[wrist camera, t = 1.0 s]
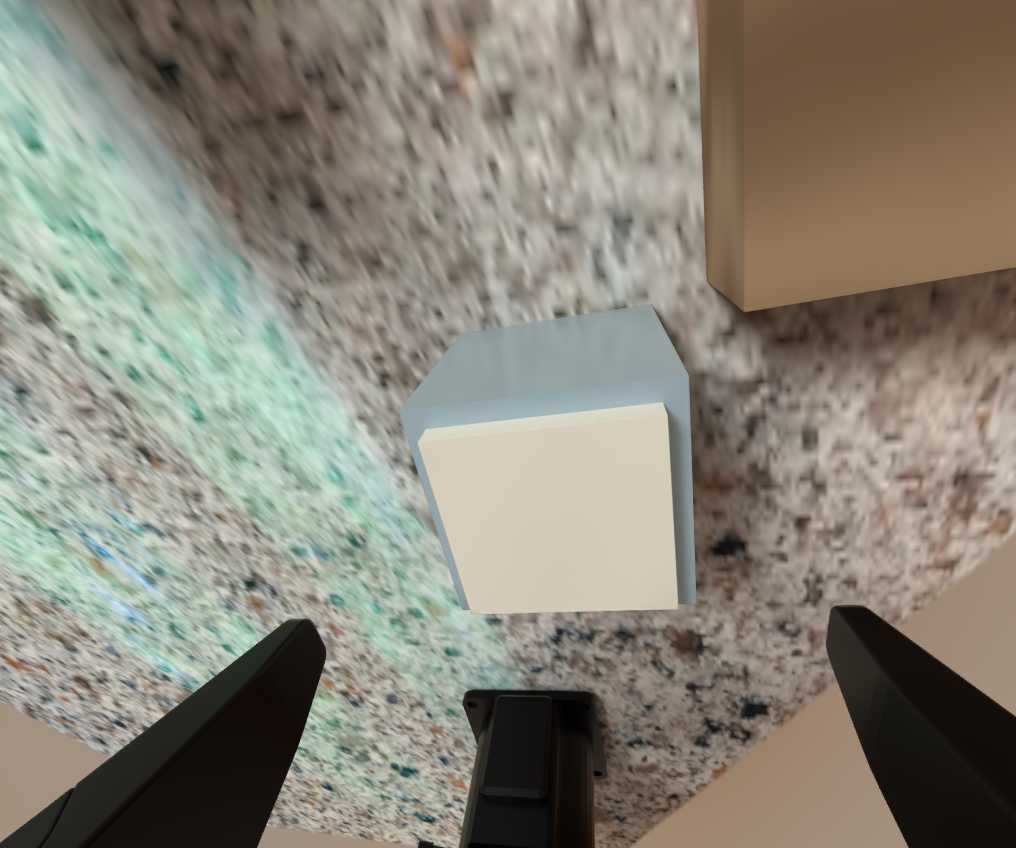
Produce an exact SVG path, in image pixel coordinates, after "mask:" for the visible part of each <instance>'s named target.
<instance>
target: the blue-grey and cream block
mask: <svg viewBox="0 0 1016 848" xmlns="http://www.w3.org/2000/svg"><path fill="white" fill-rule="evenodd" d="M398 412H399V415H400V418H401V421H402V424H403V427H404V430H405V433H406V436H407V440H408V443H409V446H410V449H411V452H412V455H413V458H414V461H415V464H416V467H417V470H418V474H419V477H420V480H421V483H422V486H423V489H424V492H425V495H426V498H427V501H428V504H429V508H430V511H431V514H432V517H433V520H434V523H435V526H436V529H437V532H438V535H439V538H440V542H441V545H442V548H443V551H444V554H445V557H446V560H447V563H448V566H449V569H450V572H451V576H452V579H453V582H454V585H455V588H456V591H457V594H458V597H459V600H460V603H461V607H462V610H470V611H471V614H500V613H541V612H582V611H623V610H664V609H678V604H696V576H695V546H694V516H693V486H692V455H691V425H690V395H689V375H688V373H687V371H686V369H685V367H684V365H683V364H682V362H681V360H680V358H679V356H678V354H677V352H676V350H675V348H674V347H673V345H672V343H671V341H670V339H669V337H668V335H667V333H666V332H665V330H664V328H663V326H662V324H661V322H660V320H659V318H658V317H657V315H656V313H655V311H654V309H653V307H652V305H651V304H647V305H641V306H635V307H628V308H622V309H615V310H609V311H603V312H596V313H590V314H584V315H577V316H571V317H564V318H558V319H552V320H545V321H539V322H533V323H526V324H520V325H513V326H507V327H501V328H494V329H488V330H482V331H475V332H469V333H463V334H460V336H459V337H458V338H457V339H456V341H455V342H454V343H453V344H452V346H451V347H450V348H449V349H448V351H447V352H446V353H445V354H444V356H443V357H442V358H441V359H440V361H439V362H438V363H437V364H436V365H435V367H434V368H433V369H432V370H431V372H430V373H429V374H428V375H427V377H426V378H425V379H424V380H423V382H422V383H421V384H420V385H419V387H418V388H417V389H416V390H415V392H414V393H413V394H412V395H411V397H410V398H409V399H408V400H407V401H406V403H405V404H404V405H403V406H402V408H401V409H400V410H399V411H398Z"/></svg>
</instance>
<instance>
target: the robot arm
mask: <svg viewBox="0 0 1016 848" xmlns="http://www.w3.org/2000/svg"><path fill="white" fill-rule="evenodd" d="M826 648H827V653H828V657H829V660H830V663H831V665H832V668H833V671H834V674H835V676H836V679H837V682H838V684H839V687H840V690H841V692H842V695H843V697H844V700H845V703H846V706H847V708H848V711H849V714H850V716H851V719H852V721H853V724H854V727H855V730H856V732H857V735H858V738H859V740H860V743H861V746H862V749H863V751H864V753H865V756H866V759H867V761H868V764H869V766H870V768H871V771H872V773H873V775H874V777H875V779H876V782H877V783H878V786H879V788H880V790H881V792H882V794H883V796H884V798H885V800H886V802H887V804H888V806H889V808H890V811H891V813H892V815H893V816H894V819H895V821H896V823H897V825H898V827H899V829H900V831H901V833H902V835H903V837H904V839H905V841H906V843H907V845H908V847H909V848H1016V716H1014V715H1013V714H1012V713H1010V712H1009V711H1007V710H1006V709H1005V708H1003V707H1002V706H1000V705H999V704H998V703H996V702H995V701H994V700H992V699H991V698H990V697H988V696H987V695H986V694H984V693H983V692H981V691H980V690H979V689H977V688H976V687H975V686H973V685H972V684H970V683H969V682H968V681H967V680H965V679H964V678H962V677H961V676H960V675H958V674H957V673H955V672H954V671H953V670H951V669H950V668H949V667H947V666H946V665H945V664H943V663H942V662H941V661H939V660H938V659H936V658H935V657H934V656H932V655H931V654H929V653H928V652H927V651H926V650H924V649H923V648H921V647H920V646H919V645H917V644H916V643H915V642H913V641H912V640H910V639H909V638H908V637H906V636H905V635H904V634H902V633H901V632H900V631H898V630H897V629H896V628H894V627H893V626H891V625H890V624H889V623H887V622H886V621H885V620H883V619H882V618H881V617H879V616H878V615H876V614H875V613H874V612H872V611H871V610H870V609H868V608H866V607H864V606H861V605H837V606H834V607H832V609H831V611H830V616H829V624H828V631H827V639H826ZM325 660H326V647H325V645H324V643H323V641H322V639H321V637H320V635H319V633H318V631H317V629H316V627H315V625H314V623H313V622H312V621H311V620H310V619H290V620H288V621H286V622H284V623H283V624H282V625H281V626H279V627H278V628H277V629H275V630H274V631H273V632H272V633H270V634H269V635H268V636H266V637H265V638H264V639H263V640H261V641H260V642H259V643H257V644H256V645H255V646H254V647H252V648H251V649H250V650H248V651H247V652H246V653H245V654H243V655H242V656H241V657H239V658H238V659H237V660H236V661H234V662H233V663H232V664H230V665H229V666H228V667H227V668H225V669H224V670H223V671H221V672H220V673H219V674H218V675H216V676H215V677H214V678H212V679H211V680H210V681H209V682H207V683H206V684H205V685H203V686H202V687H201V688H200V689H198V690H197V691H196V692H194V693H193V694H192V695H190V696H189V697H188V698H187V699H185V700H184V701H183V702H181V703H180V704H179V705H178V706H176V707H175V708H174V709H172V710H171V711H170V712H169V713H167V714H166V715H165V716H163V717H162V718H161V719H160V720H158V721H157V722H156V723H154V724H153V725H152V726H151V727H149V728H148V729H147V730H145V731H144V732H143V733H142V734H140V735H139V736H138V737H136V738H135V739H134V740H133V741H131V742H130V743H129V744H127V745H126V746H125V747H124V748H122V749H121V750H120V751H118V752H117V753H116V754H115V755H113V756H112V757H111V758H110V759H108V760H107V761H106V762H104V763H103V764H102V765H100V766H99V767H98V768H97V769H95V770H94V771H93V772H91V773H90V774H89V775H88V776H86V777H85V778H84V779H82V780H81V781H80V782H79V783H77V785H76V787H75V788H71V789H69V790H68V791H67V792H65V793H64V794H63V795H62V796H60V797H59V798H58V799H57V800H55V801H54V802H53V803H51V804H50V805H49V806H48V807H46V808H45V809H44V810H42V811H41V812H40V813H38V814H37V815H36V816H35V817H33V818H32V819H31V820H29V821H28V822H27V823H26V824H24V825H23V826H21V827H20V828H19V829H18V830H16V831H15V832H14V833H12V834H11V835H10V836H8V837H7V838H6V839H4V840H3V841H2V842H0V848H257V846H258V844H259V841H260V839H261V836H262V834H263V832H264V829H265V827H266V824H267V822H268V820H269V817H270V815H271V812H272V810H273V807H274V805H275V802H276V800H277V798H278V795H279V793H280V790H281V788H282V785H283V783H284V780H285V778H286V776H287V773H288V771H289V768H290V766H291V763H292V761H293V758H294V756H295V753H296V751H297V748H298V745H299V742H300V739H301V737H302V734H303V731H304V728H305V724H306V721H307V718H308V715H309V712H310V708H311V705H312V702H313V699H314V696H315V692H316V689H317V686H318V683H319V680H320V676H321V673H322V670H323V667H324V664H325ZM463 706H464V709H465V712H466V715H467V717H468V720H469V723H470V726H471V728H472V731H473V734H474V736H475V739H476V742H477V745H478V748H477V753H476V758H475V764H474V769H473V774H472V780H471V785H470V790H469V795H468V801H467V806H466V811H465V817H464V822H463V827H462V832H461V838H460V843H459V848H595V838H594V779H603V778H605V777H606V776H607V765H606V760H605V754H604V748H603V743H602V737H601V732H600V726H599V720H598V715H597V709H596V704H595V699H594V696H593V695H591V694H590V693H587V692H559V691H475V690H471V691H467V692H466V693H465V694H464V698H463ZM418 848H444V847H439V846H434V843H433V842H428V841H423V840H421V841H420V843H419V846H418Z"/></svg>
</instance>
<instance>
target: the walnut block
mask: <svg viewBox="0 0 1016 848" xmlns="http://www.w3.org/2000/svg"><path fill="white" fill-rule="evenodd" d="M697 17H698V46H699V74H700V103H701V131H702V160H703V189H704V217H705V246H706V274H707V281H708V282H709V283H710V284H711V285H712V286H714V287H715V288H716V289H717V290H718V291H720V292H721V293H722V294H723V295H724V296H726V297H727V298H728V299H729V300H730V301H732V302H733V303H734V304H735V305H736V306H738V307H739V308H740V309H741V310H742V311H744V312H748V311H754V310H760V309H766V308H772V307H778V306H785V305H791V304H797V303H803V302H809V301H815V300H821V299H827V298H833V297H839V296H845V295H851V294H857V293H863V292H869V291H875V290H881V289H887V288H893V287H899V286H905V285H911V284H917V283H923V282H930V281H936V280H942V279H948V278H954V277H960V276H966V275H972V274H978V273H984V272H990V271H996V270H1002V269H1008V268H1014V267H1016V0H697Z"/></svg>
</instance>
